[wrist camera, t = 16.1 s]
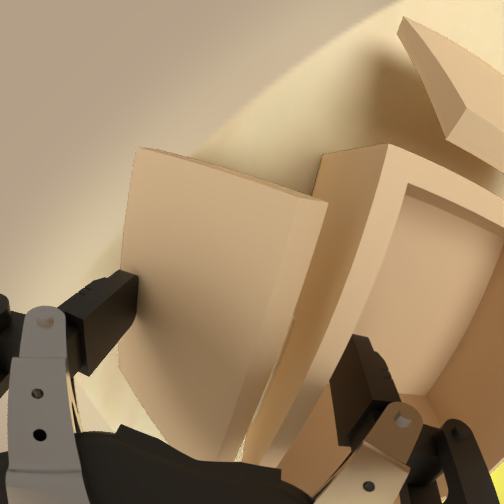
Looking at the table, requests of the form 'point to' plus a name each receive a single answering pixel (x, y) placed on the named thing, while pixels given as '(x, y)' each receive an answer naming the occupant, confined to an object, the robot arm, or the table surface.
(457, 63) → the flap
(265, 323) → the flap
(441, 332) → the carton
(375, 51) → the table surface
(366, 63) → the table surface
